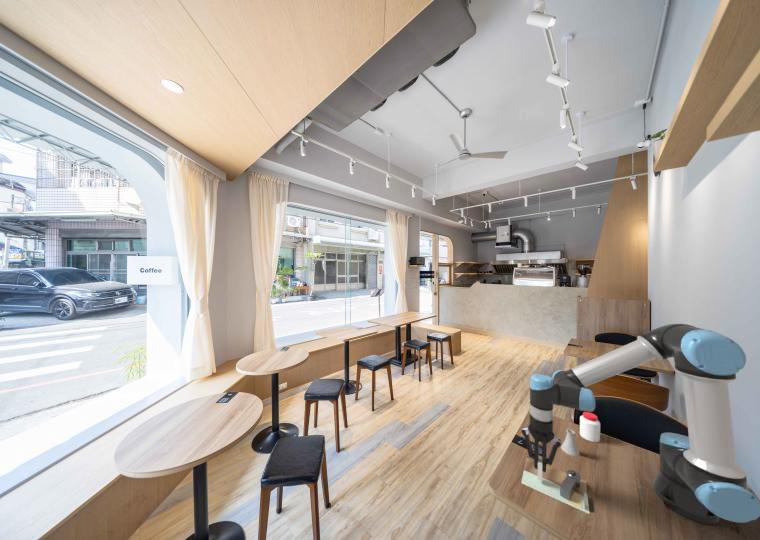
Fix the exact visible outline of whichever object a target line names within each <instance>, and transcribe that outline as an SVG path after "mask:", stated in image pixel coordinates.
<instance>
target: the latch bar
mask: <svg viewBox="0 0 760 540" xmlns="http://www.w3.org/2000/svg"><path fill="white" fill-rule="evenodd" d="M566 474H567V476H566V478H565V480H564V481H563V483H562V485H560V495H561V496H562V497H564V498H566V499H567V500H569V501H570V499H571V497H572V495H573V493H574V491H575V489H576V487H579V486H580V479H581V475H580V474H579V473H578V472H576V471H575V470H572V469H568V470H566ZM575 492H576V491H575Z"/></svg>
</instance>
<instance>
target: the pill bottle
mask: <svg viewBox="0 0 760 540" xmlns="http://www.w3.org/2000/svg"><path fill="white" fill-rule="evenodd" d="M579 435H580V437H582V439H585V440H586V441H589V442H592V443H599V442H600V441H601V422H600V420H598V416H597V415H596V414H594V413H592V412H590V411H582V415H580V416H579Z"/></svg>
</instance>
